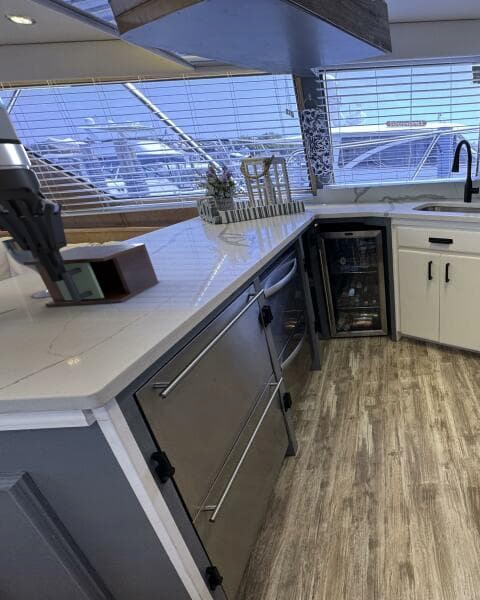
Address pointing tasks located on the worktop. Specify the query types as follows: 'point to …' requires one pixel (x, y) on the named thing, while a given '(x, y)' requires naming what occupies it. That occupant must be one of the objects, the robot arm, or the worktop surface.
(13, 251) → the wine glass
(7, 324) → the worktop surface
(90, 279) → the door
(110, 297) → the cabinet
